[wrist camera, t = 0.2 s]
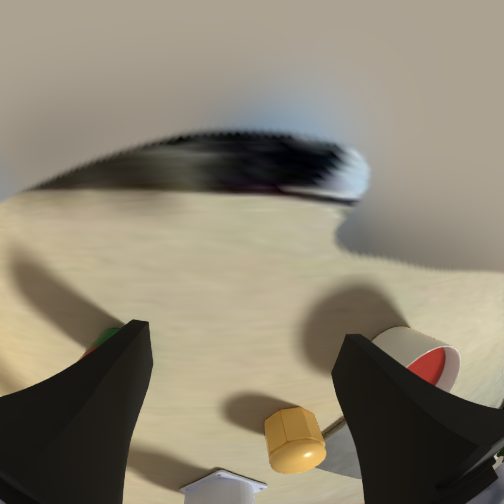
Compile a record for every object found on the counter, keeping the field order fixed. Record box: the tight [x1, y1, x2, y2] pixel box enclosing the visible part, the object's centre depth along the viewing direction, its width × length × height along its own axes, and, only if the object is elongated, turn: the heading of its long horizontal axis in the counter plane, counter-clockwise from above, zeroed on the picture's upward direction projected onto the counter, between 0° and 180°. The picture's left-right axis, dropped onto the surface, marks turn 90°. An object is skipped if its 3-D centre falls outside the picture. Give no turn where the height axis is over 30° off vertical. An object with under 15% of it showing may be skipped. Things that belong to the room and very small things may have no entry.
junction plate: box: [315, 420, 362, 479], centre depth 23 cm, size 11×16×4 cm
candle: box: [372, 326, 461, 393], centre depth 19 cm, size 9×9×6 cm
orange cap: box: [264, 407, 326, 474], centre depth 21 cm, size 5×5×5 cm
